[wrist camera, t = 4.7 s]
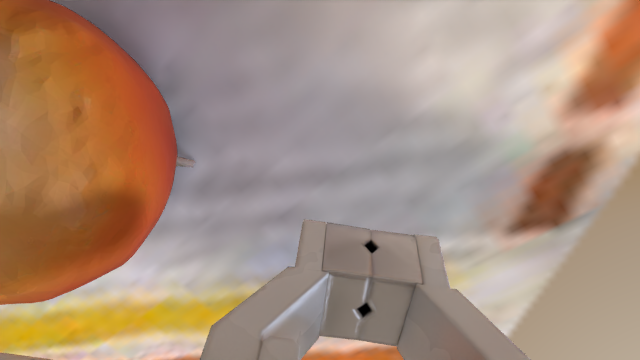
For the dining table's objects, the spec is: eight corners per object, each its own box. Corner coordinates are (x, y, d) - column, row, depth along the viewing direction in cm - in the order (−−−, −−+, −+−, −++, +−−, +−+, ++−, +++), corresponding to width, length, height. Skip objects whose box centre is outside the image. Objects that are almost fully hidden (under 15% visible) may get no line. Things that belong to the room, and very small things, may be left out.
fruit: (96, 286, 18) (-176, 381, 10) (33, 97, 18) (-272, 55, 11) (275, 217, 16) (95, 275, 8) (197, 3, 16) (-44, -137, 8)
